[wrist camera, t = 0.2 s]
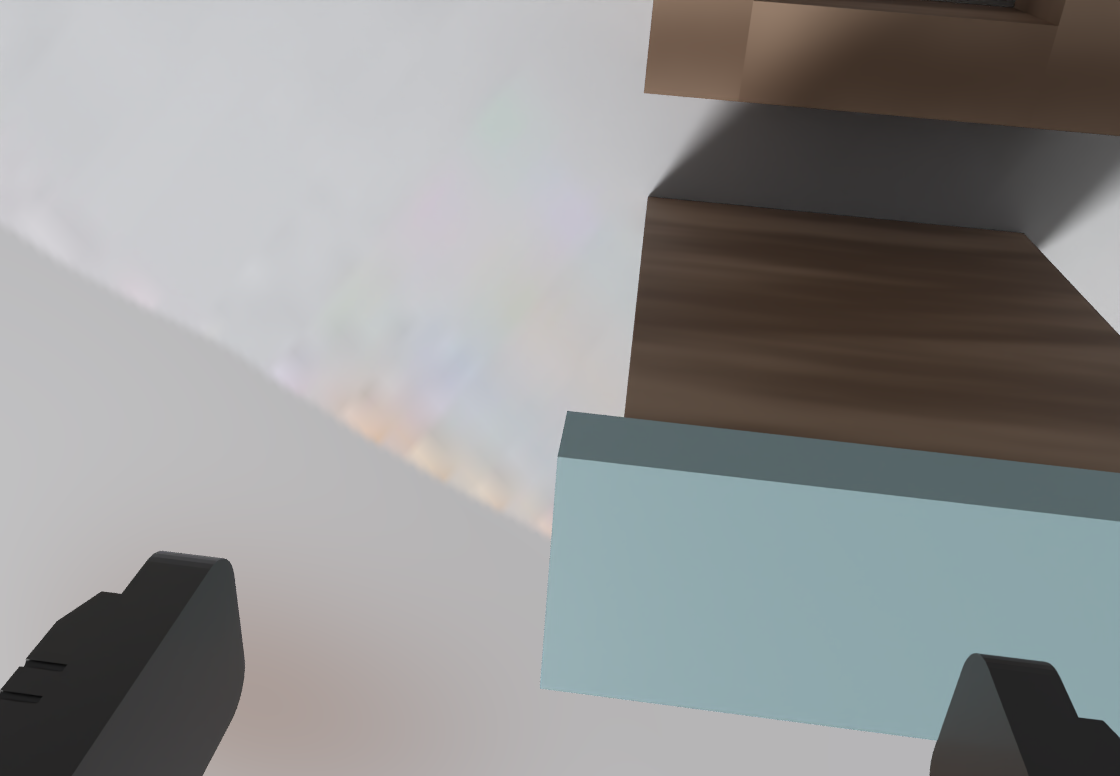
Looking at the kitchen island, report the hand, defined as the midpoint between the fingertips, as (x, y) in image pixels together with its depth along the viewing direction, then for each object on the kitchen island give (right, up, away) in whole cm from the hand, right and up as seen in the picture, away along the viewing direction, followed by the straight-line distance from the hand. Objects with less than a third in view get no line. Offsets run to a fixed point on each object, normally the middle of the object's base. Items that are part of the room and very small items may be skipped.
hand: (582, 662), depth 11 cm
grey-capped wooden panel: (+10, +10, +26) cm, 30 cm away
